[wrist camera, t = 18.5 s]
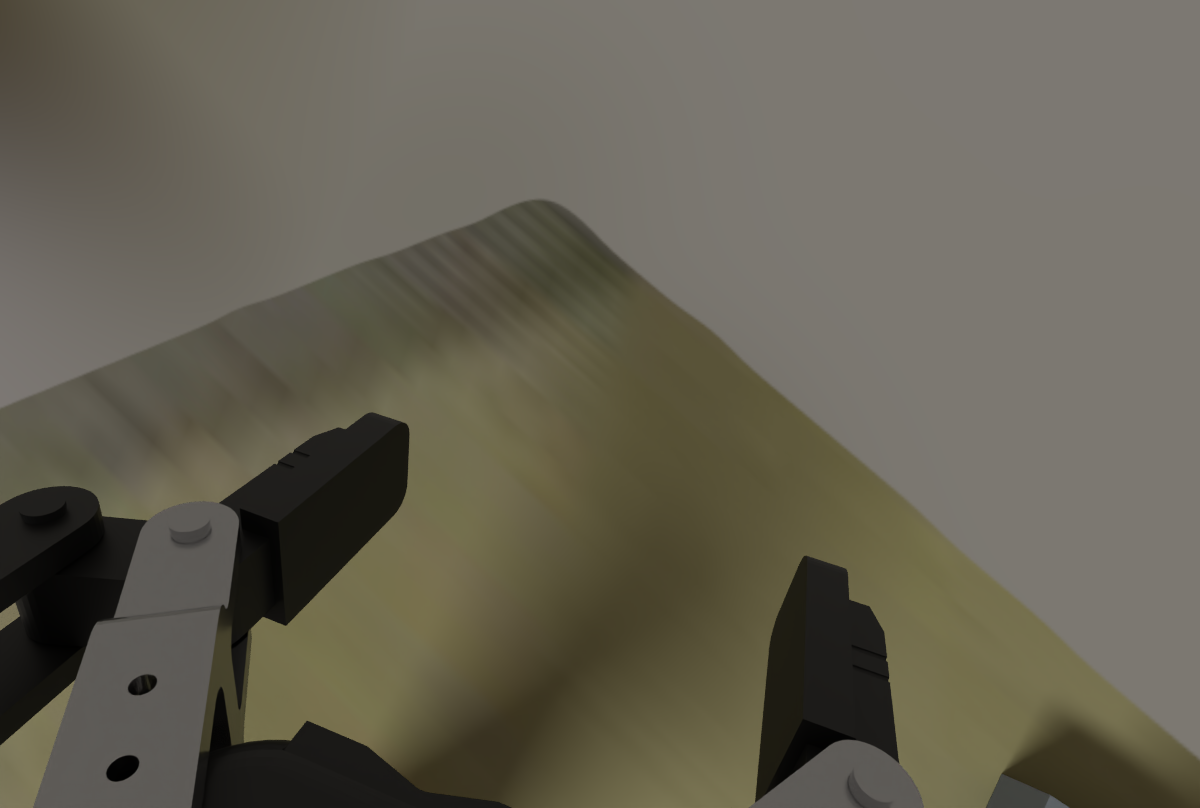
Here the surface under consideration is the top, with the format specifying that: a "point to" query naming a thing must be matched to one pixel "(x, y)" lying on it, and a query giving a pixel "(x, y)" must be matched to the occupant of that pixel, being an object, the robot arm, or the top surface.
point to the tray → (1020, 796)
